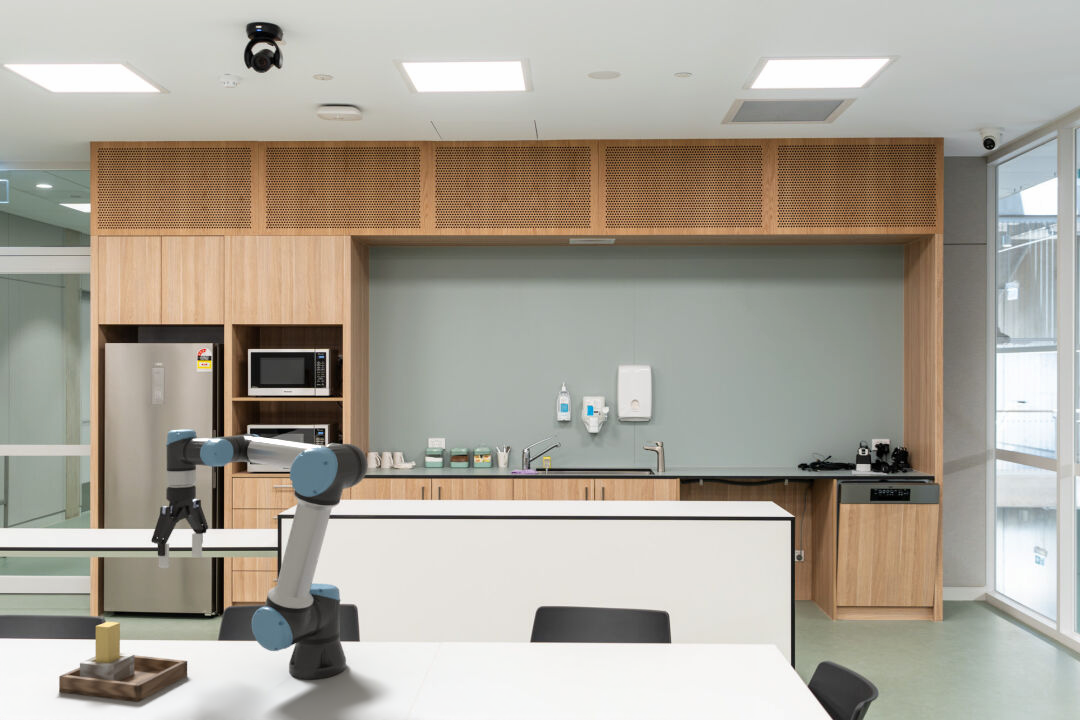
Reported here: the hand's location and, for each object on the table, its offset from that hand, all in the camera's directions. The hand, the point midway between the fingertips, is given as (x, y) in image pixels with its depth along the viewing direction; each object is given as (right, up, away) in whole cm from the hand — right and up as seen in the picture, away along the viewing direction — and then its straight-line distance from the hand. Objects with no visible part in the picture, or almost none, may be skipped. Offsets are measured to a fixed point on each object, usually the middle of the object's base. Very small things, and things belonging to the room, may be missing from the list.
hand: (180, 562), depth 230 cm
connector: (-14, -28, -12) cm, 33 cm away
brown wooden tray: (-9, -29, -14) cm, 33 cm away
